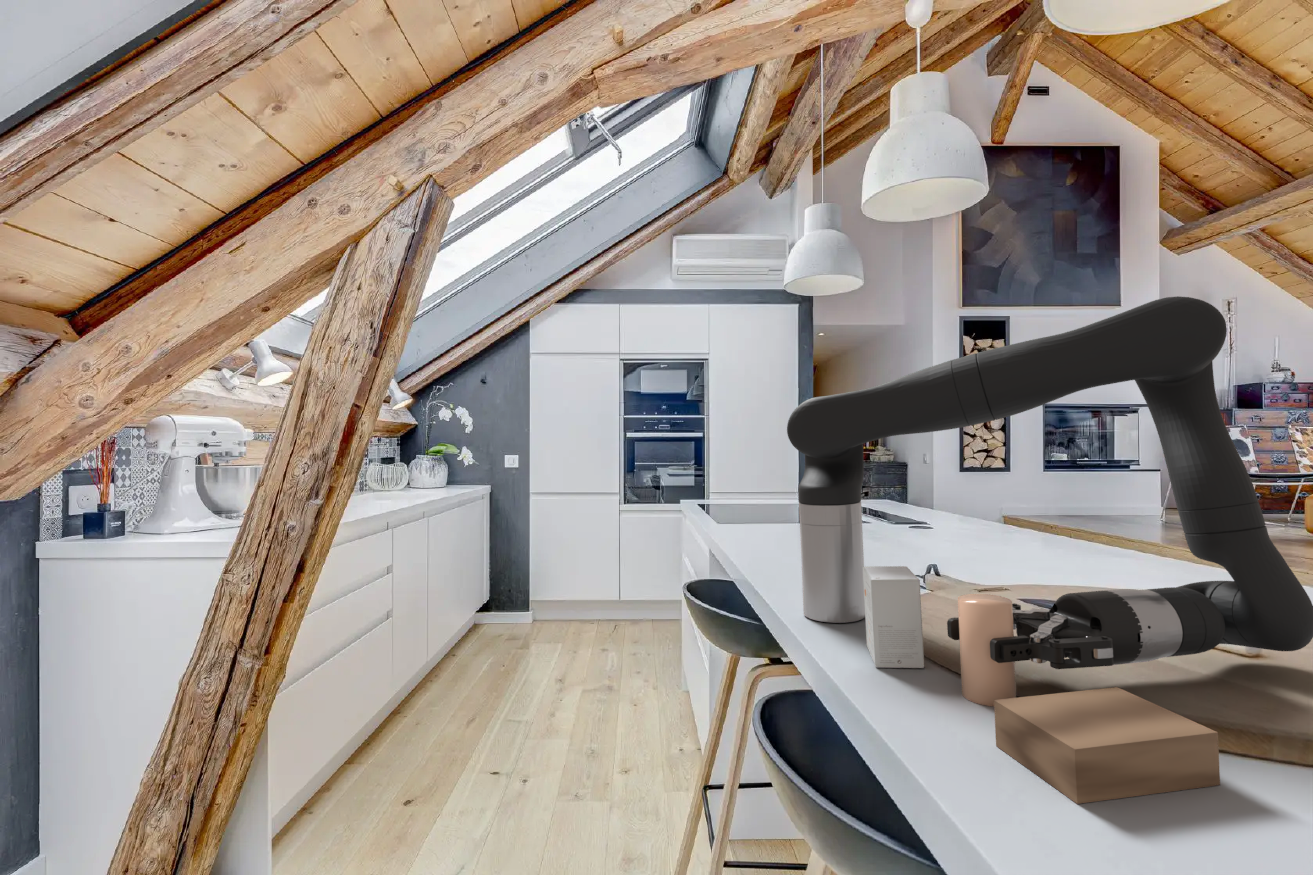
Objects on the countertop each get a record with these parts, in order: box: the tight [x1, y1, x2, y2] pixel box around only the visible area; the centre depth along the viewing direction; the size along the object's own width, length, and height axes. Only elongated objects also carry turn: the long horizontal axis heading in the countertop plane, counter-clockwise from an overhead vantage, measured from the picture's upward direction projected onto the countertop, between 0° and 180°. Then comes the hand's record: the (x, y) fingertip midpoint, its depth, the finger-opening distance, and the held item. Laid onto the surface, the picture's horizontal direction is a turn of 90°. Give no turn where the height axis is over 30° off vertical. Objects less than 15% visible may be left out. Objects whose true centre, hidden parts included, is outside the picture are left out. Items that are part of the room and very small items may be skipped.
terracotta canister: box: [957, 593, 1017, 707], centre depth 66 cm, size 5×5×10 cm
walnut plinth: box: [993, 686, 1221, 805], centre depth 52 cm, size 9×12×4 cm
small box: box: [863, 565, 925, 669], centre depth 78 cm, size 8×6×10 cm
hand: (970, 639), depth 66 cm, fingers open, 6 cm apart
